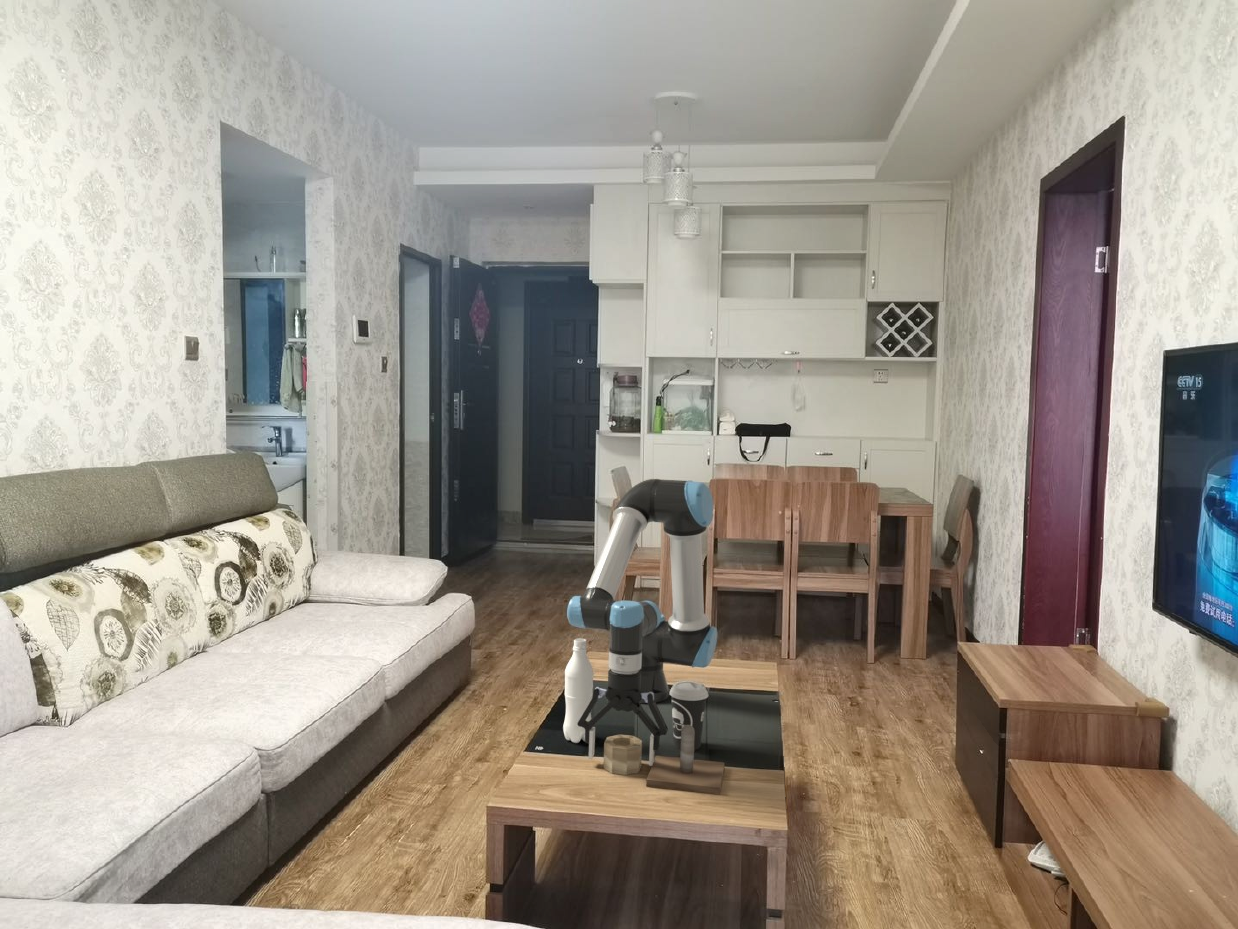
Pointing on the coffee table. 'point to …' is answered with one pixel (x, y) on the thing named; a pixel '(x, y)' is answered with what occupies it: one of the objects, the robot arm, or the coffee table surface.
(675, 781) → the post base
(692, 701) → the coffee cup
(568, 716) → the water bottle
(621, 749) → the collar
